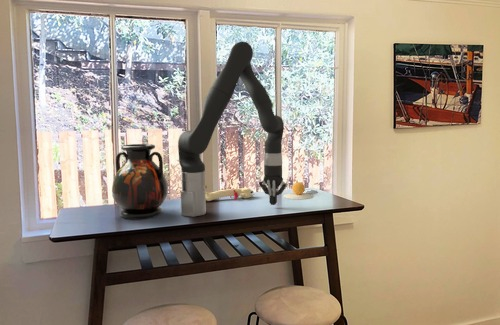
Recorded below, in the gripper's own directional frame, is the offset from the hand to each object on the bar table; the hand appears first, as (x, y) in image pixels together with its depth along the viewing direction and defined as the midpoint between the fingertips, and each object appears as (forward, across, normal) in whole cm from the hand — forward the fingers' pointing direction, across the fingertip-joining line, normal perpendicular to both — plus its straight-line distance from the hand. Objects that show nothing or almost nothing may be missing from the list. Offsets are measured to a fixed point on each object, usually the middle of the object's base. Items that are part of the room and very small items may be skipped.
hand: (273, 204), depth 180 cm
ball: (-2, -2, +31) cm, 31 cm away
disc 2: (+2, 0, +39) cm, 39 cm away
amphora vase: (+2, -42, -34) cm, 54 cm away
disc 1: (+2, 0, +27) cm, 27 cm away
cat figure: (+2, -26, +7) cm, 27 cm away
